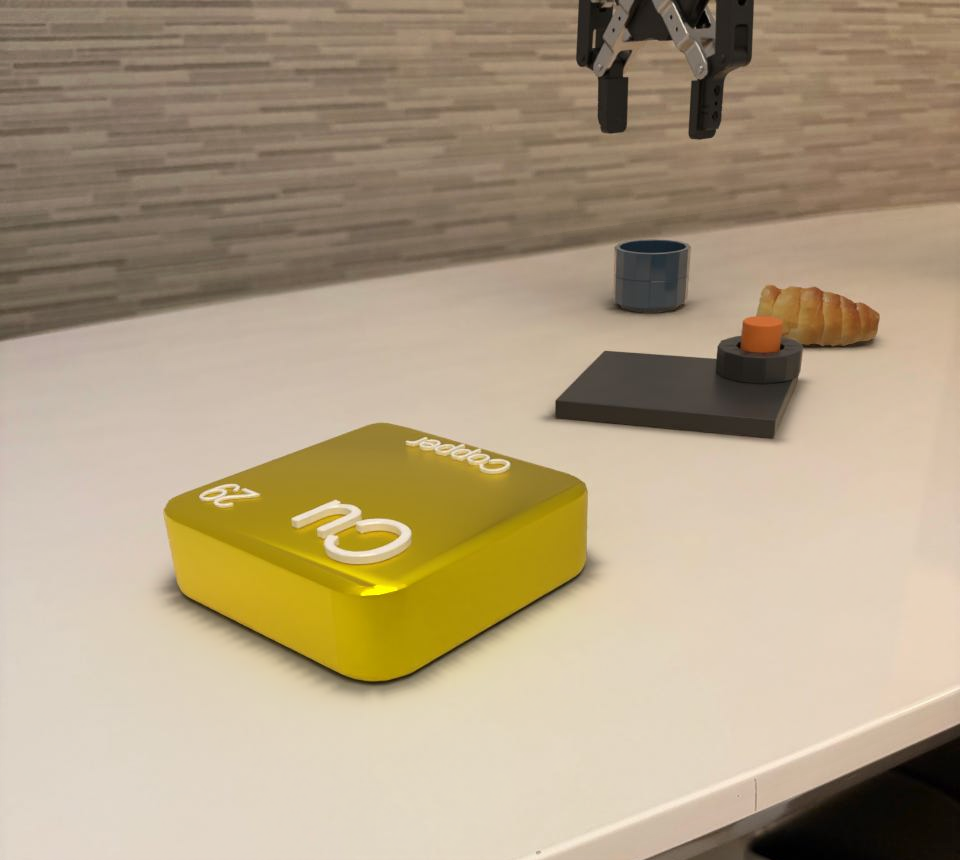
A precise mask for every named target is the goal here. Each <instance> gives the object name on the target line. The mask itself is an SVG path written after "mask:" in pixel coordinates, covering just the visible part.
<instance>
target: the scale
mask: <svg viewBox="0 0 960 860" xmlns="http://www.w3.org/2000/svg"><path fill="white" fill-rule="evenodd" d="M741 336H742V335H735V336H732V337H728V338H725V339H722V340H720V342H719V343H718V345H717V348H716V349H717V351H716V358H711V357H710V358H709V357H700V356H699V357H698V356H685V355H672V354H670V355H669V354H657V353H655V354H654V353H643V352H642V353H641V352H629V351H617V350H604V351H602V353H600V354H599V356H597V357H596V359H595V360H594V361H593V362H592V363H591V364H590V365H589V366H587V368H585V370H583V372H581V374H580V375H579V376H578V377H577V378H576V379H575V380H574V381H573V382H572V383H571V384H570V385H569V386H568V387H567V388H566V389H565V390H564V391H563V392H562V393H561V394H560V395H559V396H558V397H557V398H556V399H555V401H554V402H555V406H554V407H555V414H554V415H555V416H554V417H555V418H556V419H566V420H576V421H577V420H578V421H587V422H598V423H608V424H609V423H610V424H618V425H619V424H620V425H628V426H629V425H630V426H641V427H649V428H663V429H670V430H683V431H691V432H692V431H693V432H701V433H702V432H704V433H713V434H714V433H715V434H724V435H734V436H735V435H737V436H745V437H746V436H747V437H757V438H766V439H774V438H775V436H776V434H777V432H778V430H779V429H778V428H779V426H780V424H781V421H782V419H783V417H784V414H785V413H786V409H787V408H788V405H789V402H790V400H791V397H792V396H793V393H794V391H795V388H796V386H797V383H798V381H799V376H800V373H801V370H802V363H803V362H802V361H803V355H804V354H803V353H804V344H800V343H798V342H797V341H795V340H791V339H787V338H783V337H781V344H780V351H777V352H766V353H761V352H749V351H745V350H741V349H740V347H741Z"/></svg>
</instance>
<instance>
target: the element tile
mask: <svg viewBox="0 0 960 860" xmlns="http://www.w3.org/2000/svg"><path fill="white" fill-rule="evenodd" d="M588 498H589V491H588V487H587V484H586V482H584V481H583V480H582V479H580V478H578V477H577V476H575V475H572V474H569V473H568V472H564V471H561V470H557V469H554V468H550V467H547V466H543V465H539V464H536V463H533V462H529V461H527V460H522V459H519V458H515V457H512V456H509V455H505V454H502V453H498V452H494V451H491V450H487V449H484V448H481V447H477V446H474V445H470V444H468V443H464V442H460V441H457V440H453V439H449V438H446V437H443V436H439V435H436V434H432V433H428V432H425V431H422V430H419V429H415V428H412V427H408V426H407V427H406V426H403V425H399V424H395V423H389V422H375V423H370V424H366V425H364V426H362V427H359V428H356V429H353V430H350V431H348V432H345V433H342V434H340V435H337V436H334V437H332V438H329V439H326V440H323V441H321V442H318V443H315V444H313V445H310V446H307V447H304V448H302V449H299V450H296V451H293V452H291V453H288V454H285V455H282V456H280V457H277V458H274V459H272V460H269V461H267V462H263V463H261V464H259V465H256V466H253V467H250V468H248V469H245V470H243V471H240V472H237V473H234V474H231V475H229V476H225V477H223V478H220V479H218V480H215V481H213V482H210V483H207V484H204V485H202V486H198V487H196V488H193V489H190V490H188V491H185V492H183V493H180V494H178V495H176V496H174V497H172V498H170V499H168V501H167V503H166V504H165V506H164V508H163V512H162V513H163V520H164V524H165V528H166V535H167V540H168V544H169V549H170V554H171V560H172V565H173V570H174V576H175V579H176V584H177V585H178V587H179V589H180V591H181V592H182V594H184V595H185V596H186V597H187V598H189V599H191V600H193V601H195V602H197V603H199V604H201V605H203V606H204V607H207V608H208V609H211V610H213V611H215V612H217V613H219V614H221V615H222V616H225V617H227V618H229V619H231V620H233V621H234V622H237V623H239V624H241V625H243V626H244V627H246V628H249V629H251V630H252V631H255V632H256V633H259V634H261V635H262V636H264V637H266V638H268V639H271V640H272V641H274V642H276V643H279V644H281V645H282V646H284V647H286V648H288V649H290V650H292V651H294V652H297V653H298V654H300V655H302V656H304V657H306V658H309V659H310V660H313V661H314V662H316V663H317V664H320V665H322V666H323V667H326V668H328V669H330V670H332V671H334V672H336V673H338V674H340V675H342V676H344V677H347V678H350V679H353V680H357V681H363V682H369V683H372V682H387V681H392V680H395V679H399V678H402V677H405V676H407V675H410V674H413V673H414V672H416V671H417V670H420V669H422V667H424V666H426V665H428V664H430V663H431V662H433V661H435V660H436V659H438V658H439V657H442V656H443V655H445V654H447V653H448V652H450V651H452V650H454V649H455V648H457V647H459V646H461V645H462V644H464V643H465V642H467V641H469V640H470V639H473V638H474V637H475V636H477V635H479V634H480V633H482V632H484V631H486V630H488V629H489V628H491V627H493V626H494V625H496V624H498V623H499V622H501V621H503V620H504V619H506V618H508V617H510V616H511V615H513V614H515V613H517V612H518V611H519V610H522V609H523V608H525V607H527V606H528V605H530V604H531V603H533V602H536V601H537V600H539V599H541V597H543V596H546V595H547V594H549V593H550V592H552V591H553V590H556V589H557V588H559V587H560V586H562V585H563V584H565V583H567V582H569V581H570V580H572V579H574V578H575V577H577V576H578V575H579V574H580V573H581V572H582V570H583V568H584V566H585V565H586V562H587V551H588V550H587V549H588V500H589V499H588Z"/></svg>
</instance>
